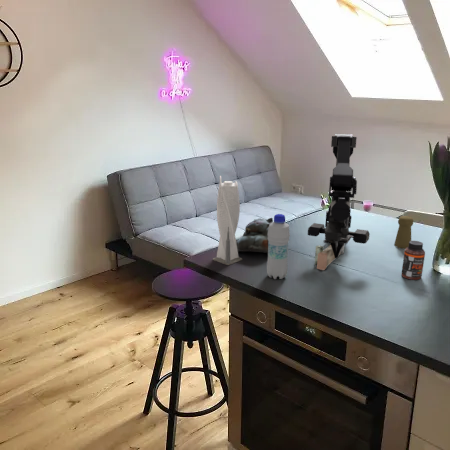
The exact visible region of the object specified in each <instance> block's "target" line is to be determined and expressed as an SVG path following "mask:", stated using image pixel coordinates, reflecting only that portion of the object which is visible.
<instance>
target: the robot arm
mask: <svg viewBox="0 0 450 450" xmlns="http://www.w3.org/2000/svg"><path fill="white" fill-rule="evenodd" d="M357 139H358V137H357V136H354V134H353V133H352V134H351V133H349V134H348V133H335V135H331V141H330V146H331V148H332V153H333V155H334V157H335V160H336V161H335V166H334V167H333V168H332V175H329V176H330V177H329V184H328V185H329V186H328V188H329V189H328V197H331V199H330V201H331V202H330V203H329V204H328V210H326V211H325V212H326V214H325V224H323V223H315V222H314V223H312V224H311V225H310V226H309V227H308V228H307V236H311V237H318V236H319V235H320V234H322V235H323V234H324V239H323V242H324V243H326V244H329V245H331V247H332V250H333V253H334V256H335V259H338V258H339V256H340V255H341V254H340V252H341V250H342V248H343V245H344V246H345V244H348V242H349V241H350V240H351V239H352V240H353V242H355V243H358V244H367V242H368V241H369V240H370V235H371V234H370V232H369V230H367V229H360V228H359V229H358V228H356V230H355V231H350V230H349V229H350V228H351V225H352V215H351V198H352V199H354V198H355V195H357V188H358V187H357V184H358V181H357V178H356V177H355V176H354V169H353V168H352V167H351V165H350V159H351V156H352V155H353V153H354V149H355V148H356V149H357ZM339 254H340V255H339Z"/></svg>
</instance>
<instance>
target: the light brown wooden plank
mask: <svg viewBox="0 0 450 450" xmlns="http://www.w3.org/2000/svg"><path fill="white" fill-rule="evenodd" d="M340 255H342V254H341V252H340V254H339V256H340ZM335 260H336V258H335V256H334V253H333V250H332V247H331V244H329V245H328V246H327V247H326V248H325V249H323V251H322V252H320V253H319V254H318V259H317V265H316V270H320V271H325V270H326V269H327V267H328V266H329V265H330V264H332V262H333V261H335Z"/></svg>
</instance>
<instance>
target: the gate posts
mask: <svg viewBox="0 0 450 450" xmlns="http://www.w3.org/2000/svg"><path fill="white" fill-rule="evenodd" d="M322 251H324V246H323V245H316V246H315V256H314V265H315V266H317V259H318V254H319V253H320V252H322ZM344 252H345V244H344V245H343V248H342V250H341V254H340V255H344Z"/></svg>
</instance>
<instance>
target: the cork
mask: <svg viewBox="0 0 450 450" xmlns="http://www.w3.org/2000/svg"><path fill="white" fill-rule="evenodd" d="M397 223H398V229H397V232H396V237H395V240H394V244H393V245H394V247H396V248H399V249H403V250H405V249H406V248H407V247H408V246H409V242H410V241H412V226H414V218H413V217H411V216H407V215H402V216H400V217H399V218H398V220H397Z"/></svg>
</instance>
